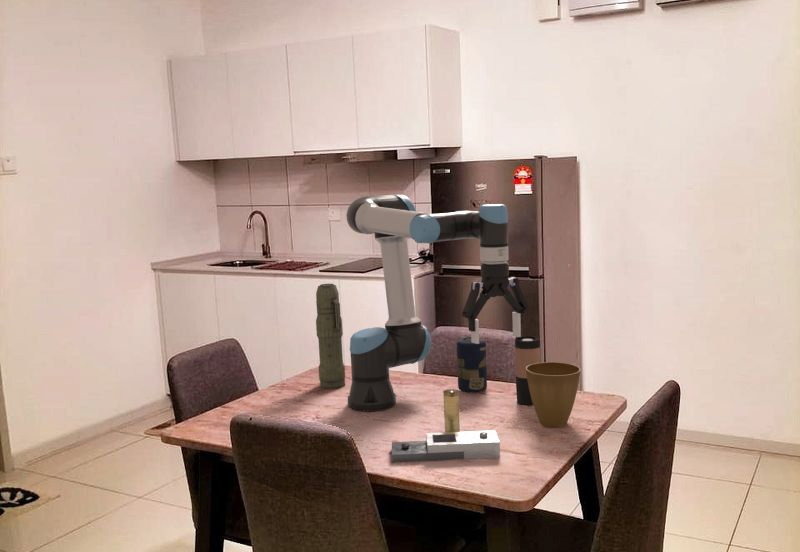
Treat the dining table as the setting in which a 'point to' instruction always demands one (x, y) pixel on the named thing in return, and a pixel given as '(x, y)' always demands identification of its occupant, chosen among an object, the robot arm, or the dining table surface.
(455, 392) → the pin
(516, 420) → the dining table surface
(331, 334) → the thermos
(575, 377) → the plant pot
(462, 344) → the canister
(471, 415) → the dining table surface
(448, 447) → the door bolt
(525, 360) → the travel mug
